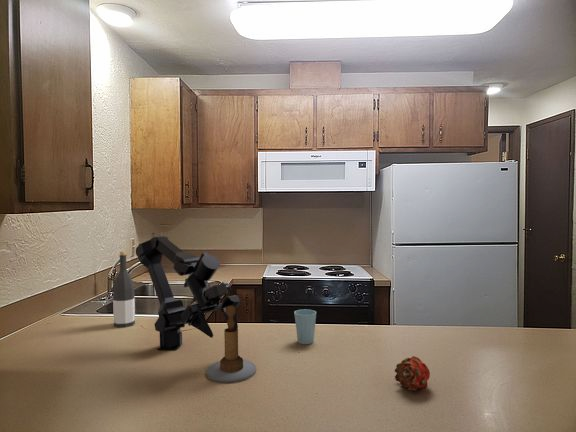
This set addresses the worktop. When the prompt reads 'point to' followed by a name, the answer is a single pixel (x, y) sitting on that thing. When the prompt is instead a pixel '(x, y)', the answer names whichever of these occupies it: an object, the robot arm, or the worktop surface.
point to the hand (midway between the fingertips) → (224, 332)
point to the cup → (305, 325)
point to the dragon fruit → (412, 373)
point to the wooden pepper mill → (231, 345)
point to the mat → (226, 377)
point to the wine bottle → (123, 296)
